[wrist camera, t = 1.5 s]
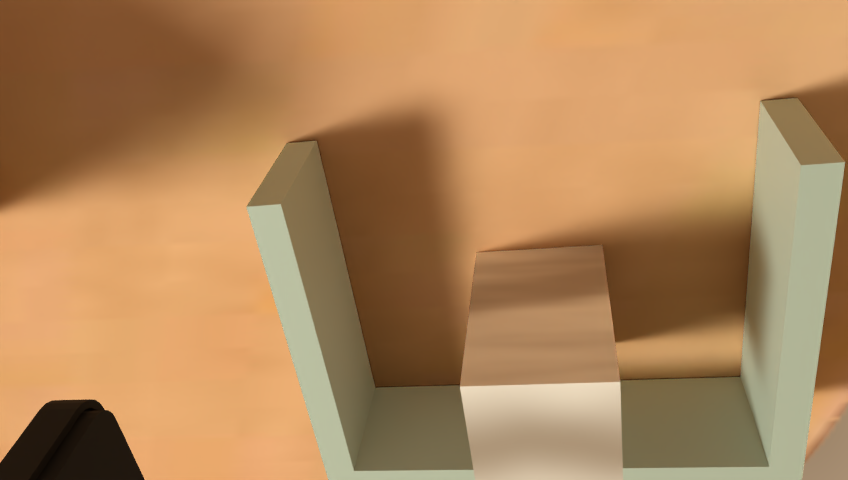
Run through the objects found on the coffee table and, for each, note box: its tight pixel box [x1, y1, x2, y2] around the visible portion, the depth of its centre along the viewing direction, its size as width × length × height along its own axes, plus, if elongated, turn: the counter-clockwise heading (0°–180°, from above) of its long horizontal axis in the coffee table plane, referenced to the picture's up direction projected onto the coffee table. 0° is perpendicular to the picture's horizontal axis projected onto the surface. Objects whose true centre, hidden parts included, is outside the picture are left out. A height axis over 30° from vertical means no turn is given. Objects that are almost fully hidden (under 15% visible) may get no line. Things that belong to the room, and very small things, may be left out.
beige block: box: [460, 245, 623, 480], centre depth 29 cm, size 5×5×8 cm
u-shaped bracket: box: [247, 98, 845, 480], centre depth 30 cm, size 14×18×5 cm
